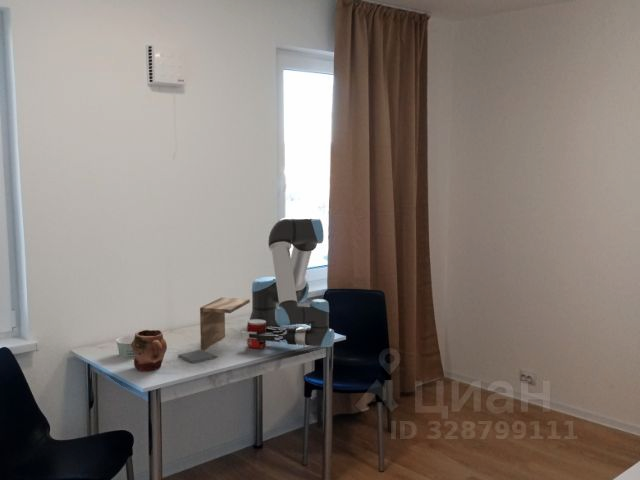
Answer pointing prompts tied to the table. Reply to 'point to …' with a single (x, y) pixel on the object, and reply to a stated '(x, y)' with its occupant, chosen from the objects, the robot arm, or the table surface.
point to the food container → (125, 346)
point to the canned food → (256, 326)
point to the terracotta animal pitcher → (148, 349)
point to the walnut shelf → (216, 319)
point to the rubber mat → (197, 356)
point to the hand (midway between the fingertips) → (246, 332)
